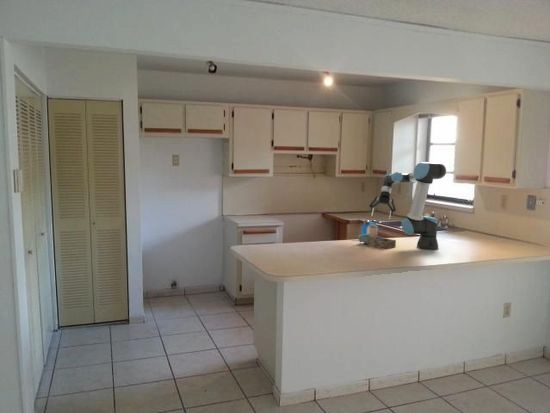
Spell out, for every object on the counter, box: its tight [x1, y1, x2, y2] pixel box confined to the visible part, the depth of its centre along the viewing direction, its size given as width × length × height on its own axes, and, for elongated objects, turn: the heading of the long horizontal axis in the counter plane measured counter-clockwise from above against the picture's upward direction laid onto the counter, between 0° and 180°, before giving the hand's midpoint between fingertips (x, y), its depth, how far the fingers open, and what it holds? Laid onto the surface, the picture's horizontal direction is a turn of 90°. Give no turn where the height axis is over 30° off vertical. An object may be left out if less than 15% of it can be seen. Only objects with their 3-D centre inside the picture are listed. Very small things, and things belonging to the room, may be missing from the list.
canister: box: [369, 224, 378, 239], centre depth 347 cm, size 6×6×12 cm
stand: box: [366, 237, 397, 250], centre depth 342 cm, size 15×14×5 cm
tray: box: [358, 234, 386, 244], centre depth 347 cm, size 16×13×5 cm
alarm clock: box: [360, 219, 380, 235], centre depth 375 cm, size 13×6×15 cm, turn 113°
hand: (380, 217), depth 355 cm, fingers open, 13 cm apart
